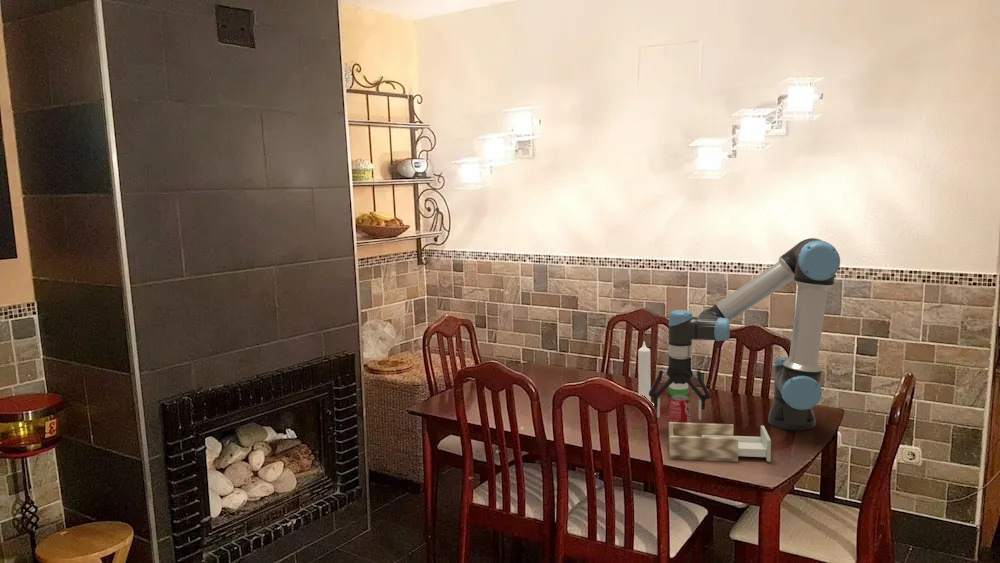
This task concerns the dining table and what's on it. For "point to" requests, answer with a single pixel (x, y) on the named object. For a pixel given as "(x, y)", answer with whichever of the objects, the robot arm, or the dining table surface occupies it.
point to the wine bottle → (677, 388)
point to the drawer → (752, 445)
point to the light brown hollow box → (702, 442)
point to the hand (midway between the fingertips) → (679, 417)
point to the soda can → (680, 409)
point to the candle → (644, 372)
